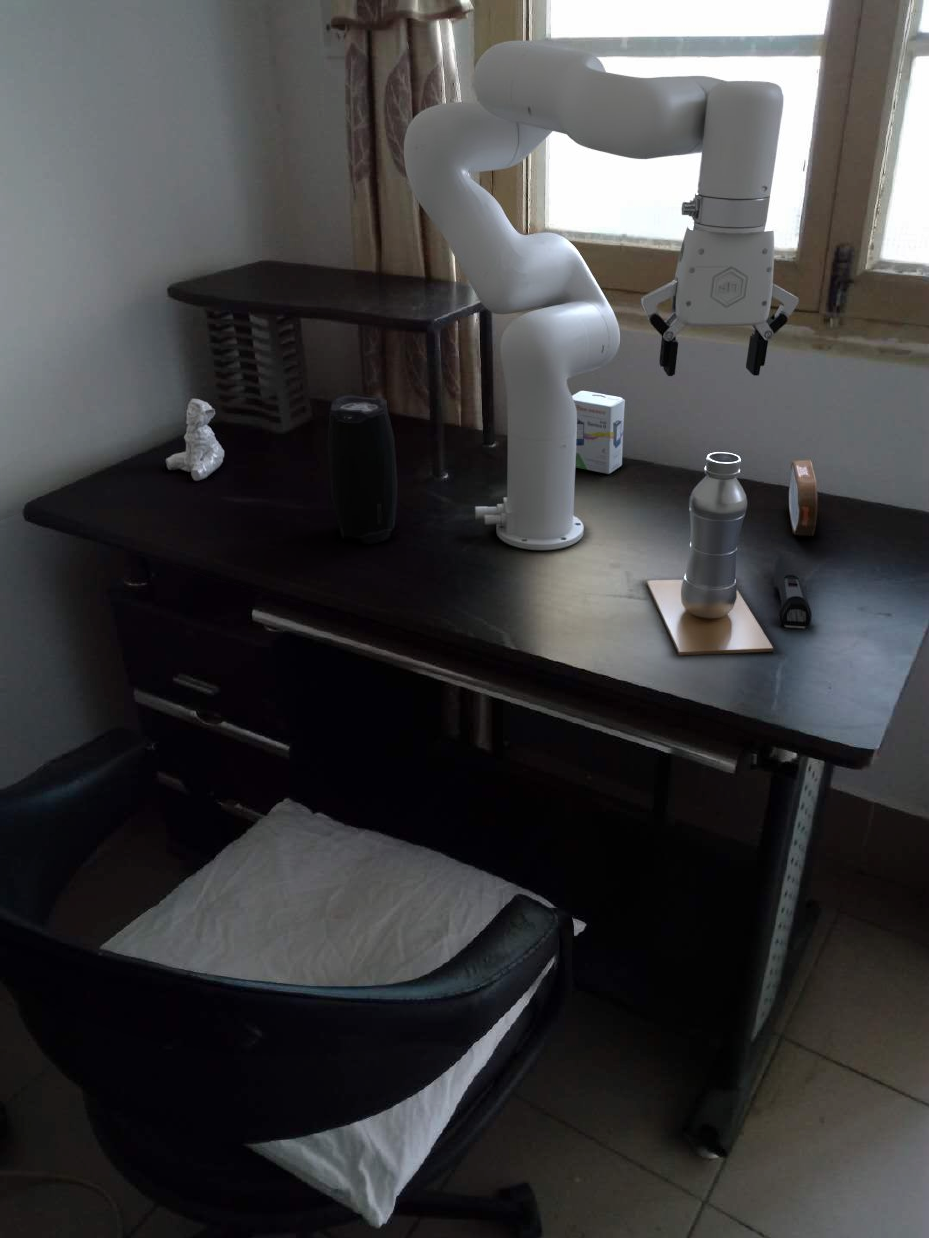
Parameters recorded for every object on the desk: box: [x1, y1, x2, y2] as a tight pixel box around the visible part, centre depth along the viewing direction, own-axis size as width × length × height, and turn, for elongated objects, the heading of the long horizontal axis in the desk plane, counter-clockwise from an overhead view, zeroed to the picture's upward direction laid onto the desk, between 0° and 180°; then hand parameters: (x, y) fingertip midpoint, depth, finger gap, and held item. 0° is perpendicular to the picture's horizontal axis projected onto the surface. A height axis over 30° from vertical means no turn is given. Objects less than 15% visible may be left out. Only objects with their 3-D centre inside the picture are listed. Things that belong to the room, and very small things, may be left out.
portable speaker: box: [327, 394, 398, 545], centre depth 142 cm, size 9×9×20 cm
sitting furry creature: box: [165, 398, 225, 482], centre depth 168 cm, size 10×9×12 cm
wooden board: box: [646, 578, 774, 656], centre depth 124 cm, size 11×18×1 cm, turn 3°
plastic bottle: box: [681, 451, 748, 618], centre depth 119 cm, size 6×7×20 cm
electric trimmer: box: [773, 551, 812, 629], centre depth 127 cm, size 4×16×3 cm, turn 170°
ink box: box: [571, 390, 626, 475], centre depth 166 cm, size 9×5×12 cm, turn 55°
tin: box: [788, 459, 818, 537], centre depth 146 cm, size 15×3×8 cm, turn 168°
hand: (710, 372), depth 116 cm, fingers open, 9 cm apart
